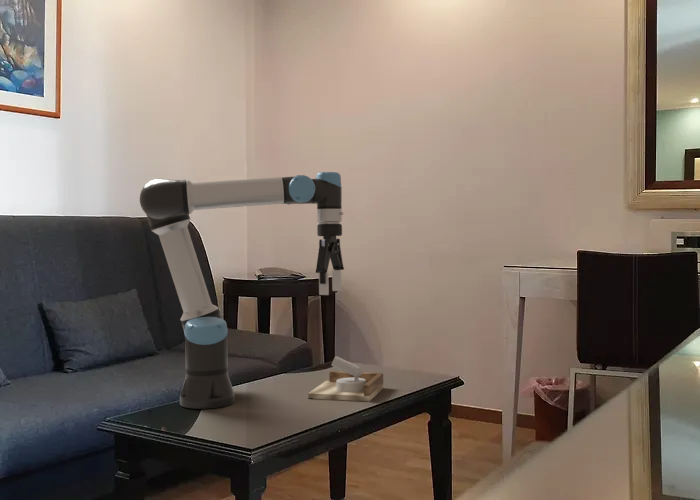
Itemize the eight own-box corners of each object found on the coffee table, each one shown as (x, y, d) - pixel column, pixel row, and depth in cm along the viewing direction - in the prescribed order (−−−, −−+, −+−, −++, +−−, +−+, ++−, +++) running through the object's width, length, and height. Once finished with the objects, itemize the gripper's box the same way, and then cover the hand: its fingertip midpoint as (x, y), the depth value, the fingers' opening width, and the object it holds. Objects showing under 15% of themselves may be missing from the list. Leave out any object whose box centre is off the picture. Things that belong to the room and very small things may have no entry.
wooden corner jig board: (308, 398, 215) (307, 382, 215) (326, 385, 232) (326, 370, 232) (369, 401, 210) (369, 385, 210) (383, 387, 228) (383, 373, 227)
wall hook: (334, 353, 225) (367, 354, 223) (335, 385, 225) (368, 386, 223) (328, 358, 216) (362, 359, 214) (328, 391, 217) (363, 392, 215)
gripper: (329, 222, 216) (330, 296, 217) (352, 223, 240) (353, 289, 241) (304, 223, 218) (305, 296, 219) (329, 223, 242) (330, 289, 243)
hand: (330, 293), depth 230 cm, fingers open, 13 cm apart
